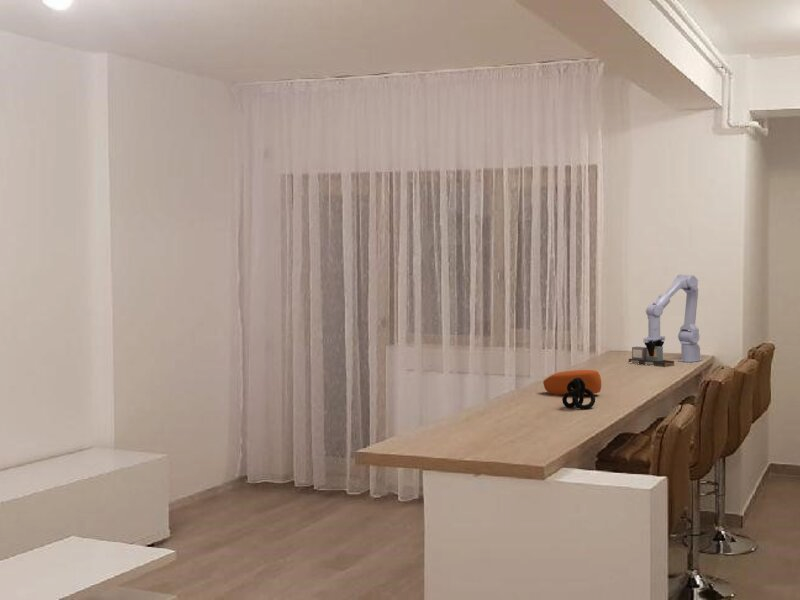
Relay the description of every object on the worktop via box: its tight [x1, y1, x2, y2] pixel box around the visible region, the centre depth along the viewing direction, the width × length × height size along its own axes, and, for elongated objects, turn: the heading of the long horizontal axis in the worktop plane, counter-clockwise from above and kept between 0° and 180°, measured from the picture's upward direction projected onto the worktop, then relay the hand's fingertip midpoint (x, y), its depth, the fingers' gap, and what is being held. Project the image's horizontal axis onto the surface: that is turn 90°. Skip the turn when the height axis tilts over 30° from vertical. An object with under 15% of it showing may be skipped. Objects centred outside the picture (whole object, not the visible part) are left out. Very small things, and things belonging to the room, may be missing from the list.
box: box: [631, 346, 648, 361], centre depth 549 cm, size 4×7×7 cm, turn 39°
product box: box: [645, 346, 664, 361], centre depth 542 cm, size 4×7×7 cm, turn 39°
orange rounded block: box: [542, 369, 602, 396], centre depth 455 cm, size 12×11×25 cm
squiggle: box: [561, 377, 596, 410], centre depth 424 cm, size 11×10×15 cm
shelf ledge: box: [628, 358, 675, 368], centre depth 544 cm, size 8×22×2 cm, turn 38°
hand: (654, 355), depth 542 cm, fingers closed on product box, 4 cm apart
